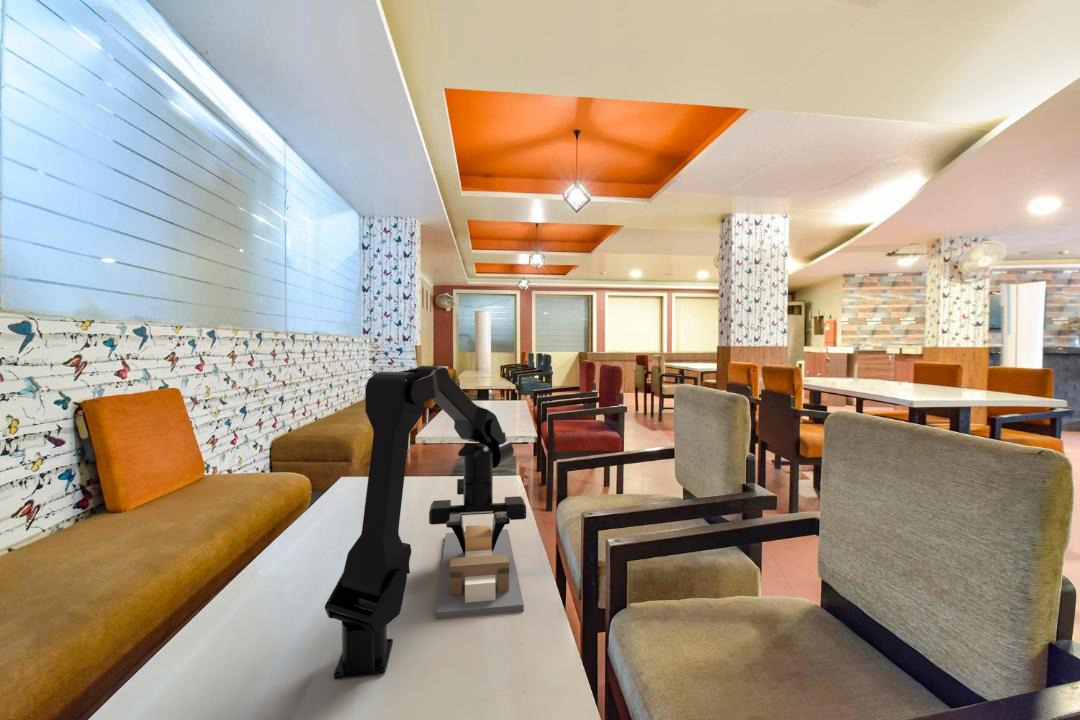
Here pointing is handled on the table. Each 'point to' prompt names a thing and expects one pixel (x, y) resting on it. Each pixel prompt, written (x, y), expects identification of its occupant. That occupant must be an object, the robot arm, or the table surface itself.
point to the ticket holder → (478, 580)
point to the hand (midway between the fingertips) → (478, 552)
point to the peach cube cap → (478, 538)
